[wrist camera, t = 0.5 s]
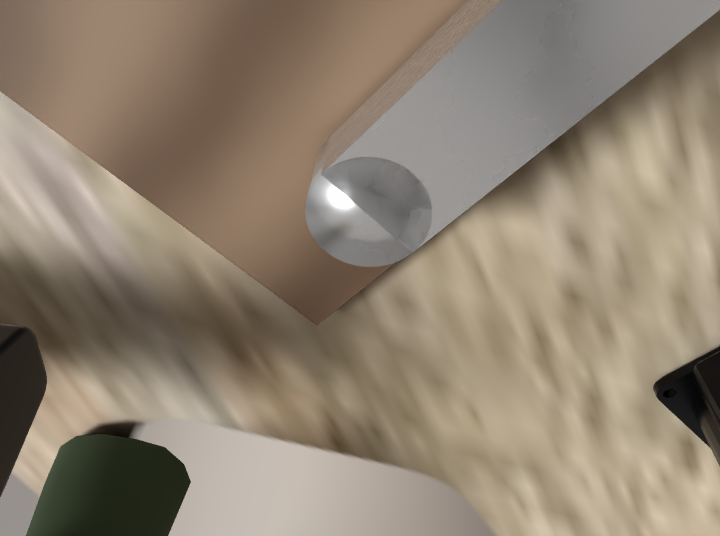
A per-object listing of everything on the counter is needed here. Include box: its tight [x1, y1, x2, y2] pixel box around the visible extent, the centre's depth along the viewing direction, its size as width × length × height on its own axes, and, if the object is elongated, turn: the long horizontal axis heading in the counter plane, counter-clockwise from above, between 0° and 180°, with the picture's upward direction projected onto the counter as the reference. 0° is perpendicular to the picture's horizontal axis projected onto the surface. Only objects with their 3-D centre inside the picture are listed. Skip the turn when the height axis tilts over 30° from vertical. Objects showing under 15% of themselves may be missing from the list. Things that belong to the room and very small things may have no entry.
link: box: [305, 0, 720, 267], centre depth 15 cm, size 14×4×4 cm, turn 136°
